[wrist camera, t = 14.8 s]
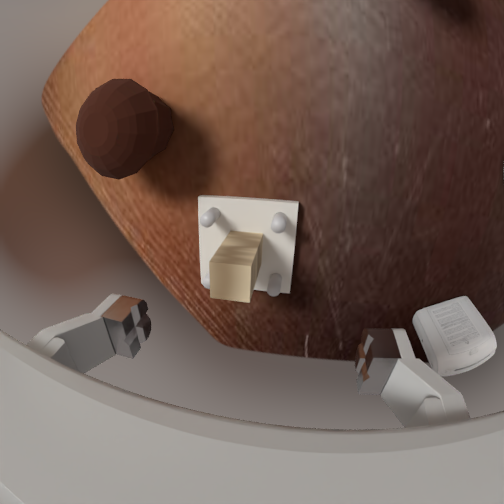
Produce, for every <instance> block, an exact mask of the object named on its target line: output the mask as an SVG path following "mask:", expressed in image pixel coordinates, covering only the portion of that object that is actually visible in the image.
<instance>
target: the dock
mask: <svg viewBox="0 0 504 504" xmlns="http://www.w3.org/2000/svg"><path fill="white" fill-rule="evenodd" d="M298 204H299V201H287V200H275V199H262V198H247V197H231V196H212V195H200V196H198V217H199V247H200V269H201V284H203V286H204V287H205V288H207V289H210V273H209V261H210V260H211V258H212V257H213V255H214V254H215V252H216V251H217V250H218V248H219V247H220V245H221V244H222V242H223V241H224V239H225V238H226V236H227V235H228V234H229V232H230V231H241V232H252V233H263V244H262V262H261V267H260V270H259V273H258V277H257V280H256V283H255V287H254V290H261V291H267V293H268V294H269V295H270V296H277V295H279V293H290V286H291V277H292V268H293V258H294V248H295V238H296V227H297V216H298Z"/></svg>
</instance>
